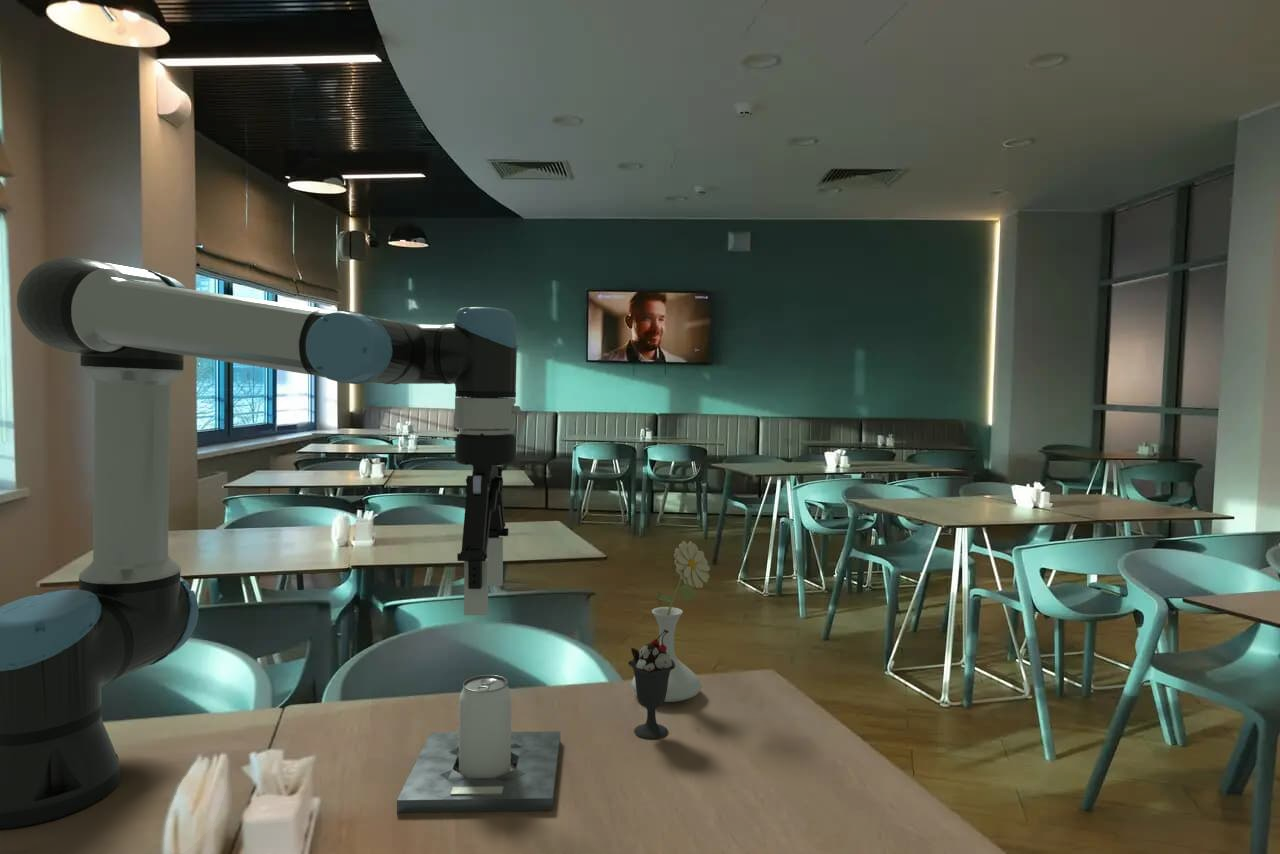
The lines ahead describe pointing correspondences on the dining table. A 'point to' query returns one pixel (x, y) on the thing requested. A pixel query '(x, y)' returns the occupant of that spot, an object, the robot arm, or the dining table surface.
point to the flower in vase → (693, 573)
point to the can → (485, 727)
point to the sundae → (651, 684)
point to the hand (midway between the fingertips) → (484, 599)
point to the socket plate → (513, 791)
